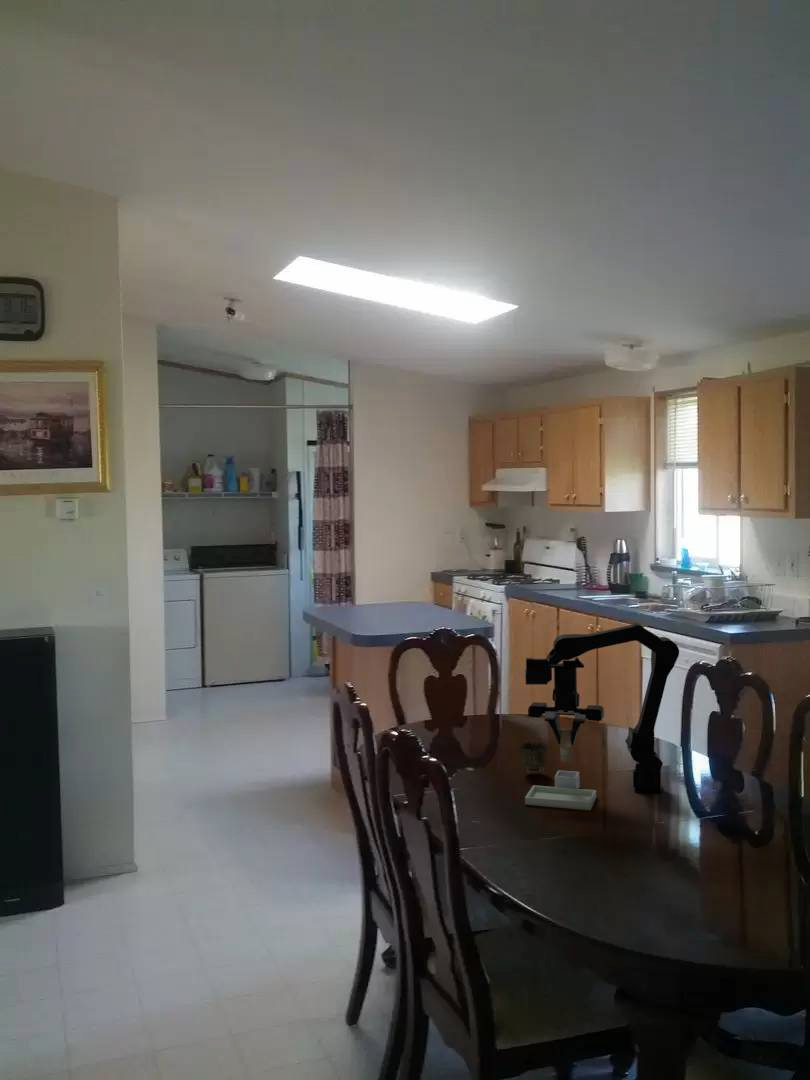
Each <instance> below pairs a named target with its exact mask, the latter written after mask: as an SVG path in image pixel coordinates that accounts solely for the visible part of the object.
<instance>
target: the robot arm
mask: <svg viewBox="0 0 810 1080" xmlns="http://www.w3.org/2000/svg"><path fill="white" fill-rule="evenodd" d="M634 641H635V642H638V643H640V644H641V645H643V646H644V647H646V648H647V649H648V650H651V651H650V674H649V678H648V682H647V686H646V689H645V694H644V698H643V703H642V705H641V710H640V714H639V718H638V722H637V723H636V725H635V727H634V728H632V727H631V726H629V727H628V734H627V738H626V739H625V744H626V749H627V751H628V752H629V754H630V756H631V758H632V759H633V761H635V762H636V763H635V767H634V769H633V771H632V779H633V780H632V783H633V784H632V785H633V786H632V787H633V788H634V792H635V793H642V794H643V793H645V794H658V795H661V794H662V791H663V784H662V783H663V781H662V767H663V764H664V762H663V761H662V759H661V758H660V756H659V755H658V753H657V752H656V751H655V727H656V723H657V719H658V715H659V711H660V707H661V704H662V699H663V696H664V693H665V688H666V687H665V686H666V683H667V679H668V677H669V675H670V673H671V671H672V670H673V668H674V666H675V665H676V663H677V660H678V658H679V656H680V648H679V647H678V645H677V643H675V642H674V641H673V640H671V639H670V638H669V637H666V636H661V637H660V636H658V635H656V634H655V633H653V632H651V631H649V629H646V628H644V627H643V626H642V625H641V624H640V623H637V622H635V623H631V624H630V625H629V624H628V625H625V626H621V627H620V626H619V627H616V628H611V629H610V628H609V629H605V630H602V631H597V632H593V633H583V634H580V633H579V634H578V633H573V634H572V633H569V634H567V633H566V634H565V633H564V634H561V635H558V636H557V637H555V639H554V640H553V646H552V647H553V648H552V649H551V650H550V651H549V653H547V655H546V657H545V658H533V657H526V658H525V670H524V673H525V674H524V675H525V676H524V677H525V678H524V679H525V685H526V686H527V685H531V686H532V685H537V686H538V685H539V686H540V685H545V686H546V685H548V684H549V683H550V682H551V681H553V680H554V681H553V682H554V683H553V684H554V688H553V689H552V695H551V696H552V698H551V699H552V701H553V702H554V706H548V704H547V702H541V701H540V702H539V701H538V702H534V701H533V702H532V704H530V705H529V706H528V708H527V709H528V710H527V717H528V718H539V719H540V718H541V717H542V716H543V715H544V716H545V717H544V722H548V724H549V726H550V728H551V729H552V731H553V733H554V736H555V738H556V741H557V744H558V745H560V730H561V726H560V716H563V715H564V716H574V719H573V720H572V728H571V730H572V738H571V742H572V746H574V745H575V742H576V738H577V736H578V733H579V729H580V727H581V725H582V724H585V723H586V721H587V720H588V721H594V722H601V721H602V720H603V718H604V716H605V708H604V707H603V706H602V705H596V704H595V705H591V704H588V705H587V706H586V708H581V707H580V697H581V696H580V694H579V692H578V681H577V680H578V679H577V678H578V675H577V673H578V672H577V670H578V669H579V668H580V669H583V668H585V665H584V663H583V662H582V661H581V660H580V659H579V656H582V655H584V654H585V653H587V652H590V651H592V650H598V649H602V648H605V647H612V646H614V645H620V644H625V643H630V642H634ZM572 659H573V660H572ZM561 662H562V663H561ZM552 669H553V671H552ZM552 672H554V673H552ZM553 676H554V677H553ZM579 707H580V708H579Z"/></svg>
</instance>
